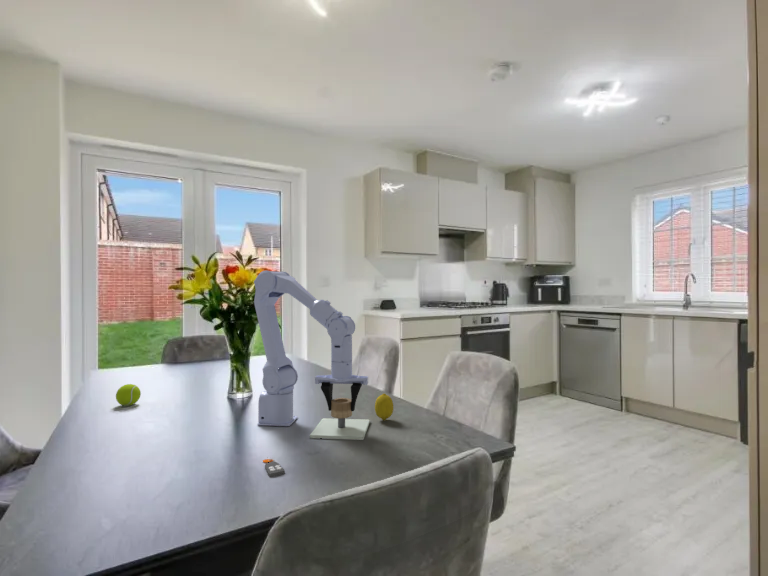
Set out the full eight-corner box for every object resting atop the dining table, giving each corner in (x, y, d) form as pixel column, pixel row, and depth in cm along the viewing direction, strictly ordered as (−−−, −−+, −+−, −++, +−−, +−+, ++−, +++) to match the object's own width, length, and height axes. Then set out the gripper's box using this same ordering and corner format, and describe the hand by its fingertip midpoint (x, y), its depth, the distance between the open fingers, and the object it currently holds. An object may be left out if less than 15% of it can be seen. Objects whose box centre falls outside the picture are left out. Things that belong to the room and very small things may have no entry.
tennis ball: (144, 402, 142) (144, 381, 142) (133, 408, 135) (133, 386, 135) (124, 402, 141) (124, 382, 141) (111, 408, 134) (111, 387, 134)
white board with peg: (310, 438, 108) (310, 418, 108) (322, 420, 122) (322, 403, 122) (363, 439, 107) (363, 420, 107) (369, 422, 121) (369, 405, 121)
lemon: (391, 424, 119) (391, 396, 119) (372, 422, 120) (372, 395, 120) (394, 418, 125) (394, 391, 125) (377, 417, 126) (377, 390, 126)
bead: (329, 417, 112) (329, 403, 112) (333, 411, 118) (333, 397, 118) (349, 418, 111) (349, 403, 111) (353, 412, 117) (353, 398, 117)
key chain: (287, 475, 88) (287, 468, 88) (269, 479, 86) (269, 472, 86) (270, 454, 99) (270, 448, 99) (254, 457, 97) (254, 451, 97)
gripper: (312, 362, 111) (312, 413, 111) (365, 363, 110) (365, 415, 110) (318, 358, 118) (318, 406, 118) (369, 359, 117) (369, 407, 117)
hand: (341, 409), depth 115 cm, fingers closed on bead, 6 cm apart
